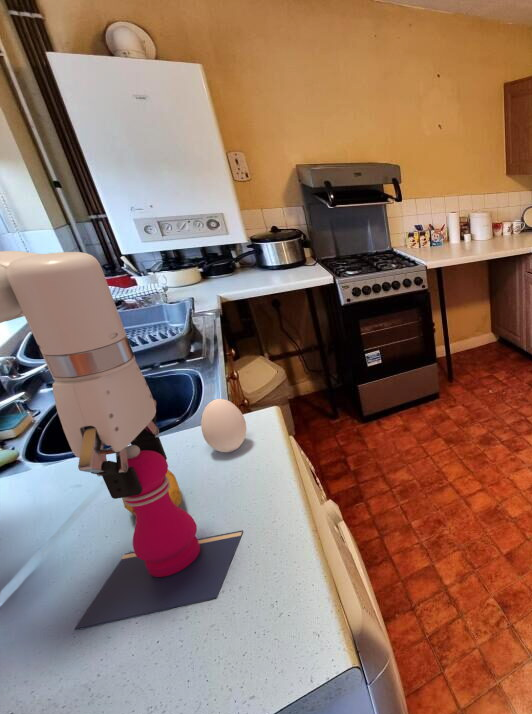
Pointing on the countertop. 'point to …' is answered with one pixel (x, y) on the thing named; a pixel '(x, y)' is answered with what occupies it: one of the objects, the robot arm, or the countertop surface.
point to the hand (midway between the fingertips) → (141, 477)
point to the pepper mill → (159, 518)
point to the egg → (223, 425)
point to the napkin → (162, 584)
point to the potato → (173, 491)
